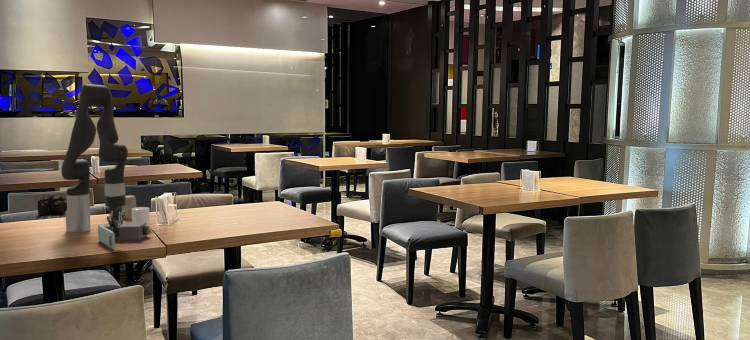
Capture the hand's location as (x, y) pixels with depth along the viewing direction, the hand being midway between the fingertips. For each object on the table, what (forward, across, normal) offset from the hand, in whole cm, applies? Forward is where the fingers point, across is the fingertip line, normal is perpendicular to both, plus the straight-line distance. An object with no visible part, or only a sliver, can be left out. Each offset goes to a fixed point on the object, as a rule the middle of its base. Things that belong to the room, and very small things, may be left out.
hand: (117, 236), depth 227 cm
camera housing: (+5, -18, -4) cm, 19 cm away
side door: (+5, -12, -12) cm, 18 cm away
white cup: (+5, -38, -4) cm, 39 cm away
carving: (+5, -65, -20) cm, 68 cm away
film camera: (+5, -84, -66) cm, 107 cm away
